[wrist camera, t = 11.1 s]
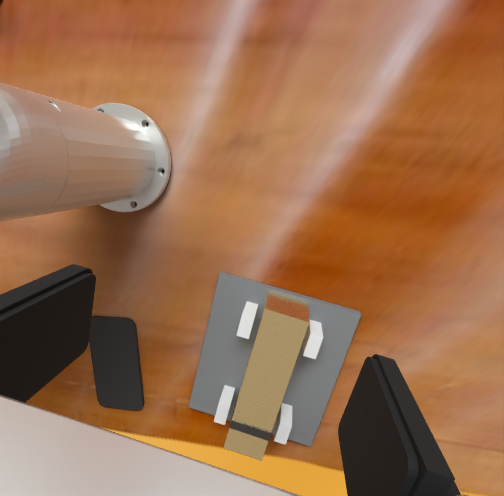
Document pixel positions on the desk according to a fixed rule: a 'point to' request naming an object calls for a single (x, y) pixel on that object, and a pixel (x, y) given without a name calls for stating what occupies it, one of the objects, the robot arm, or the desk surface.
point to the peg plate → (239, 349)
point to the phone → (116, 363)
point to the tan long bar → (267, 374)
